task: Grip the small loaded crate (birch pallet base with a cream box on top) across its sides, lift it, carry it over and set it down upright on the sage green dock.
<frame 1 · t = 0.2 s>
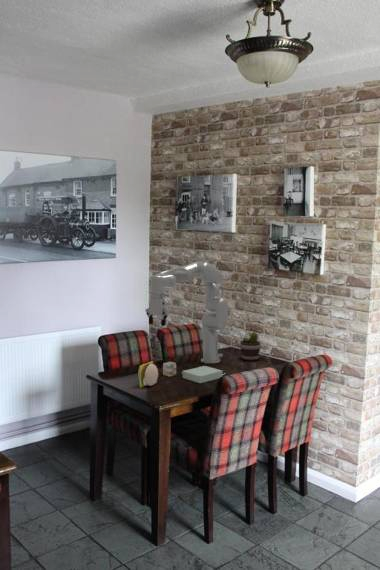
hand: (157, 324, 332), 30 cm above the table, tool pointing down, fingers open, 9 cm apart
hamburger: (148, 385, 315), on the table
dock: (202, 377, 329), on the table
flowerpot: (250, 359, 371), on the table
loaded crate: (169, 374, 335), on the table
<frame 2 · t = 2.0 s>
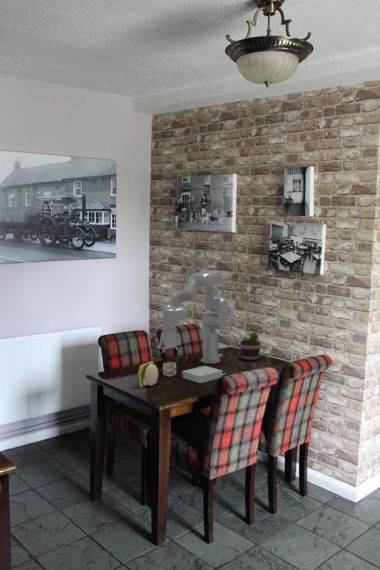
hand: (168, 357, 333), 10 cm above the table, tool pointing down, fingers open, 9 cm apart
nothing on the table moved.
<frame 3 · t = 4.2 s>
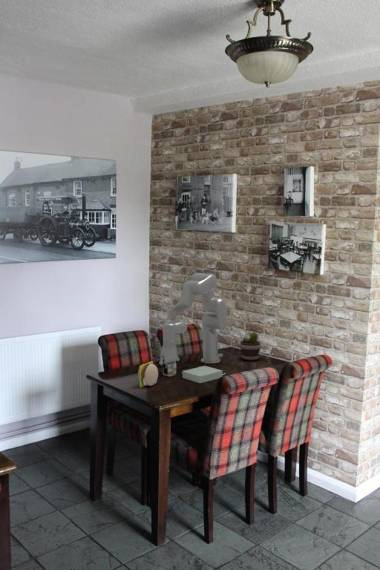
hand: (169, 372, 335), 1 cm above the table, tool pointing down, fingers closed on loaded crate, 5 cm apart
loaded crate: (169, 374, 335), on the table, touching gripper
everything else where it was.
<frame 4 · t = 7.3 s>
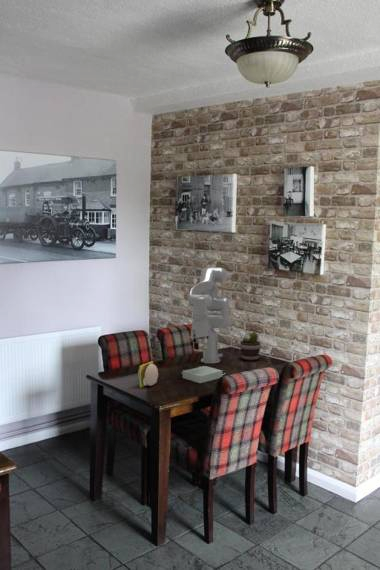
hand: (200, 348, 327), 17 cm above the table, tool pointing down, fingers closed on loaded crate, 5 cm apart
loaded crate: (200, 350, 327), point 16 cm above the table, touching gripper
everything else where it was.
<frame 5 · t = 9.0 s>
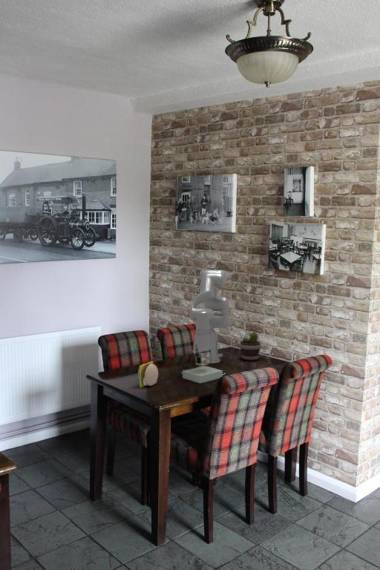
hand: (202, 362, 327), 9 cm above the table, tool pointing down, fingers closed on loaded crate, 5 cm apart
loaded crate: (202, 364, 327), point 8 cm above the table, touching gripper
everything else where it was.
when the fingers open (6 cm above the table, at t = 10.4 s): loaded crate drops 1 cm, resting on dock.
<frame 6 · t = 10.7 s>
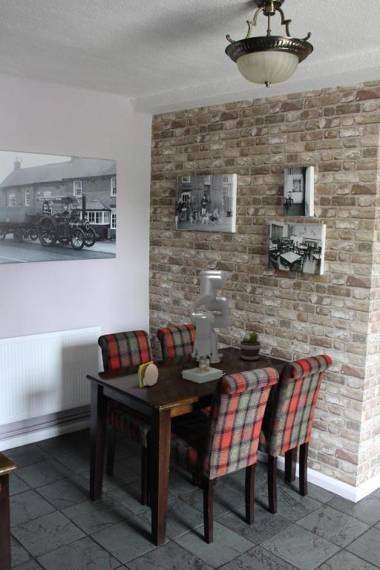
hand: (202, 365, 328), 7 cm above the table, tool pointing down, fingers open, 8 cm apart
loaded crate: (202, 370, 328), point 4 cm above the table, touching dock
everything else where it was.
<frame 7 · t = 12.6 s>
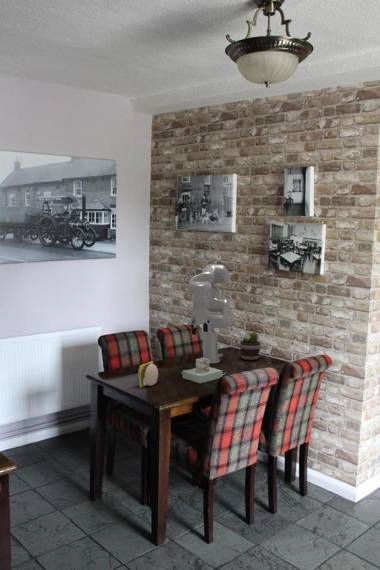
hand: (199, 333, 332), 25 cm above the table, tool pointing down, fingers open, 9 cm apart
nothing on the table moved.
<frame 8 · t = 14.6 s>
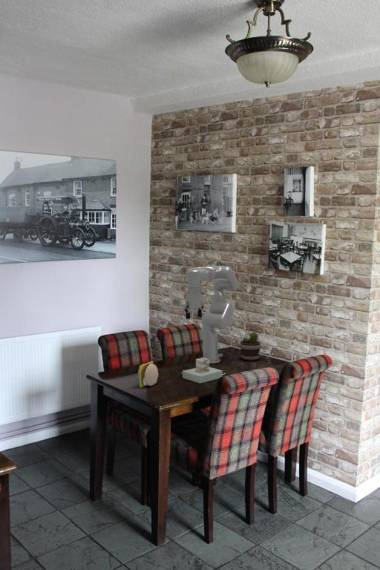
hand: (193, 318, 342), 32 cm above the table, tool pointing down, fingers open, 9 cm apart
nothing on the table moved.
at the end: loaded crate inside the target area on the dock (0.1 cm from its centre), point 4.0 cm above the dock's base; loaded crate tilted 0°; the gripper is holding nothing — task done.
